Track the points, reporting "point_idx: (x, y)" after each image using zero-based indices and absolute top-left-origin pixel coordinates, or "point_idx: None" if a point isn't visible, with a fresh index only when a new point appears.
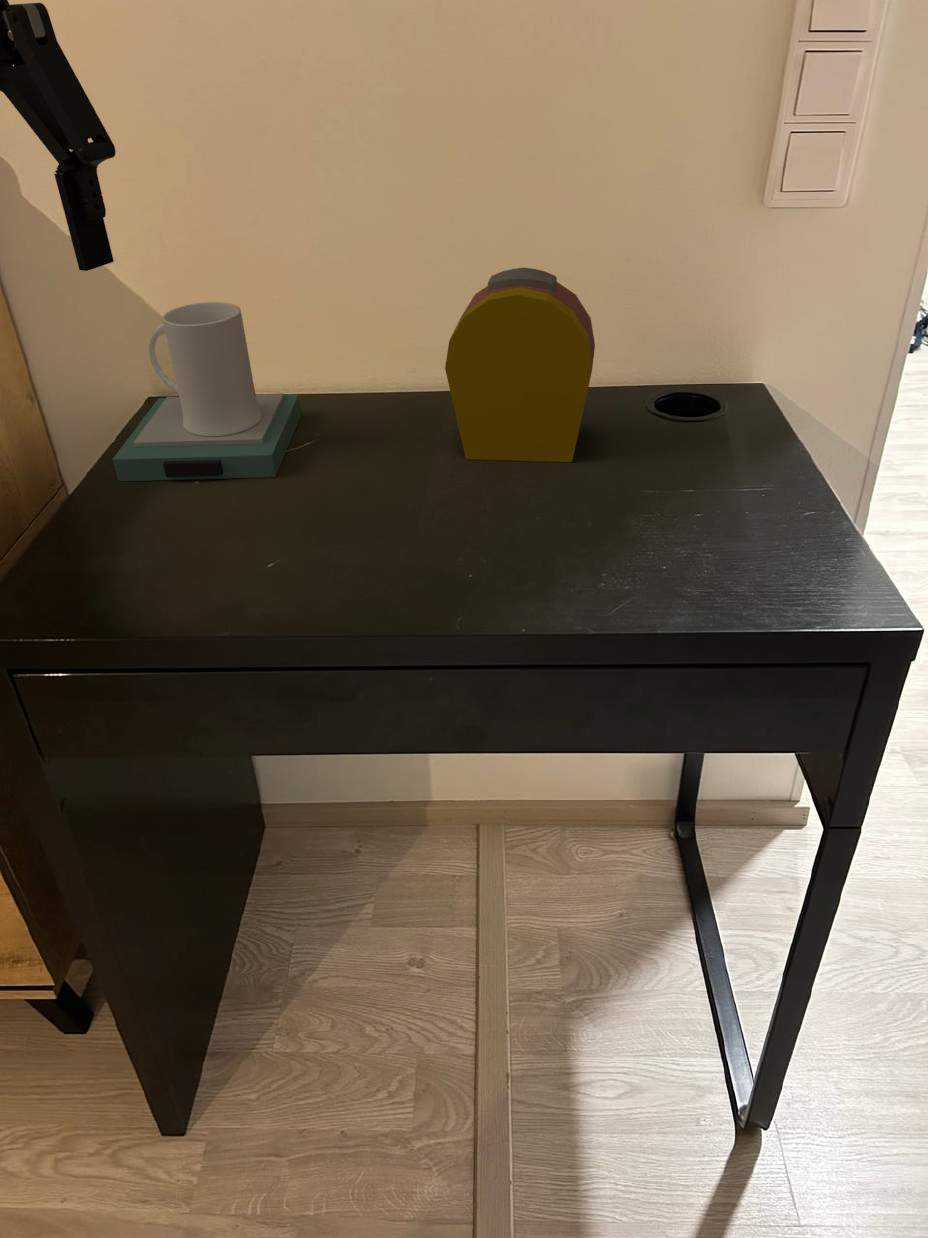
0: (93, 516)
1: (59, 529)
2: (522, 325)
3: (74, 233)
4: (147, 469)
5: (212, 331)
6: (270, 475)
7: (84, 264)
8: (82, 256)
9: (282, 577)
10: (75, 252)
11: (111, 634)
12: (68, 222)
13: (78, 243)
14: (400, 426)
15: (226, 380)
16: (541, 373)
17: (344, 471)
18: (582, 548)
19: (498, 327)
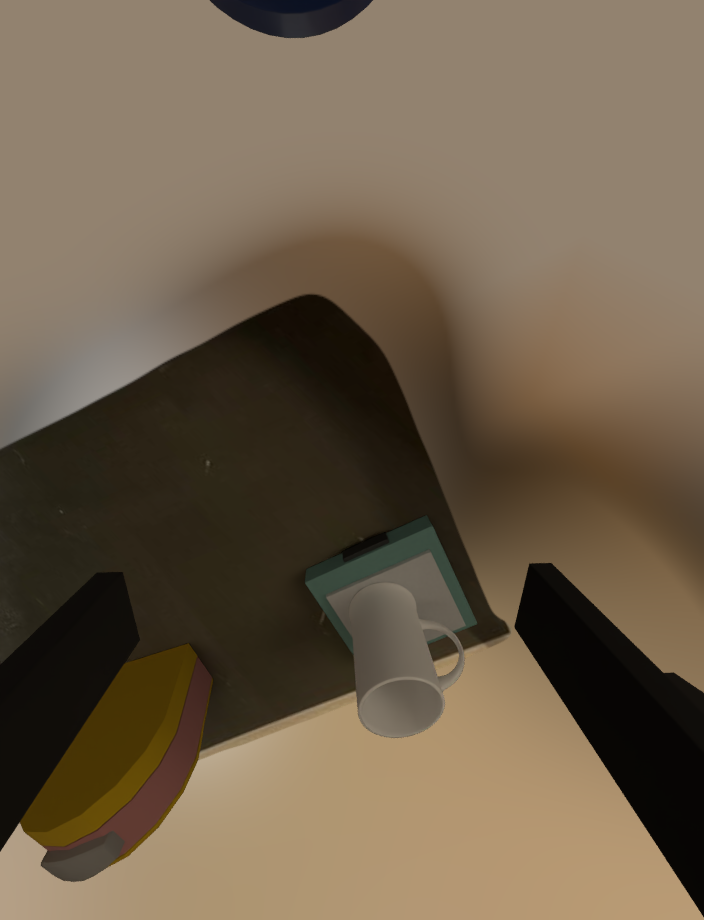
0: (402, 463)
1: (414, 435)
2: (67, 790)
3: (31, 646)
4: (402, 531)
5: (366, 683)
6: (309, 568)
7: (87, 582)
8: (73, 596)
9: (185, 452)
10: (90, 601)
11: (243, 327)
12: (16, 676)
13: (48, 622)
14: (273, 665)
15: (358, 637)
16: (85, 738)
17: (262, 596)
18: (19, 572)
19: (91, 780)
